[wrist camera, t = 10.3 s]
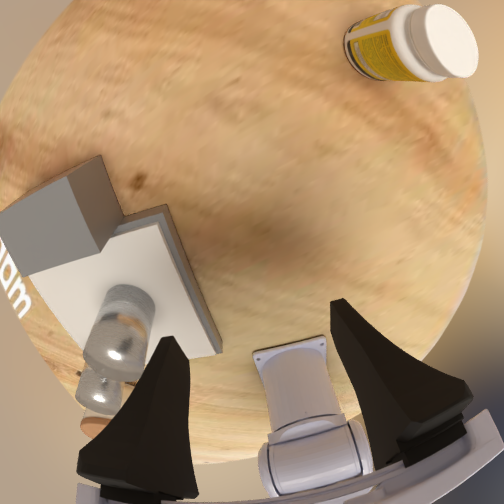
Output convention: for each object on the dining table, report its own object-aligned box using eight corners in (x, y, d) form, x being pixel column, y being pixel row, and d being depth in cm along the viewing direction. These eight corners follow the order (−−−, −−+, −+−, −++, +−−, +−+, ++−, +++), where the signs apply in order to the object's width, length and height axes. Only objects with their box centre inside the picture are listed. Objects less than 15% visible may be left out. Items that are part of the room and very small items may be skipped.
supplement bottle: (392, 90, 15) (477, 102, 8) (336, 66, 14) (413, 57, 7) (402, 38, 13) (484, 31, 6) (348, 11, 12) (421, -21, 5)
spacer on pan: (137, 366, 25) (128, 415, 20) (104, 368, 25) (93, 414, 20) (115, 339, 23) (101, 392, 17) (82, 343, 23) (66, 391, 18)
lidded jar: (111, 407, 34) (104, 457, 26) (78, 370, 28) (61, 429, 20) (173, 410, 35) (171, 465, 27) (147, 372, 29) (139, 442, 21)
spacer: (164, 319, 22) (154, 380, 16) (121, 326, 22) (105, 382, 17) (141, 279, 19) (121, 340, 14) (96, 289, 19) (71, 346, 14)
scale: (222, 341, 27) (223, 382, 22) (101, 357, 27) (91, 391, 23) (144, 137, 16) (119, 152, 12) (5, 205, 16) (-28, 232, 12)
